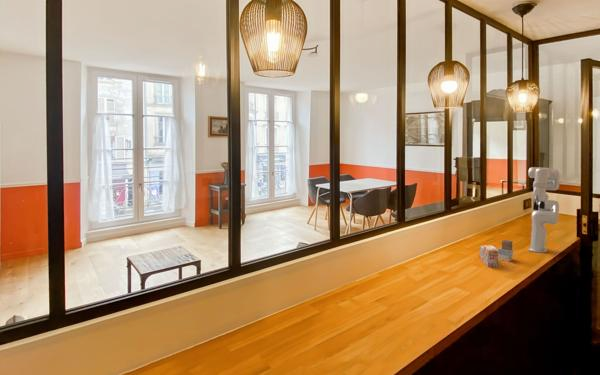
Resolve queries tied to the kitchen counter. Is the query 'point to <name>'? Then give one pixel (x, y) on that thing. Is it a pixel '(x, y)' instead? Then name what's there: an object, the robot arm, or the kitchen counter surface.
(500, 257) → the tower base
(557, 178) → the robot arm
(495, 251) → the stack of blocks
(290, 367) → the kitchen counter surface
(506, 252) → the tower top
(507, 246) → the walnut block
